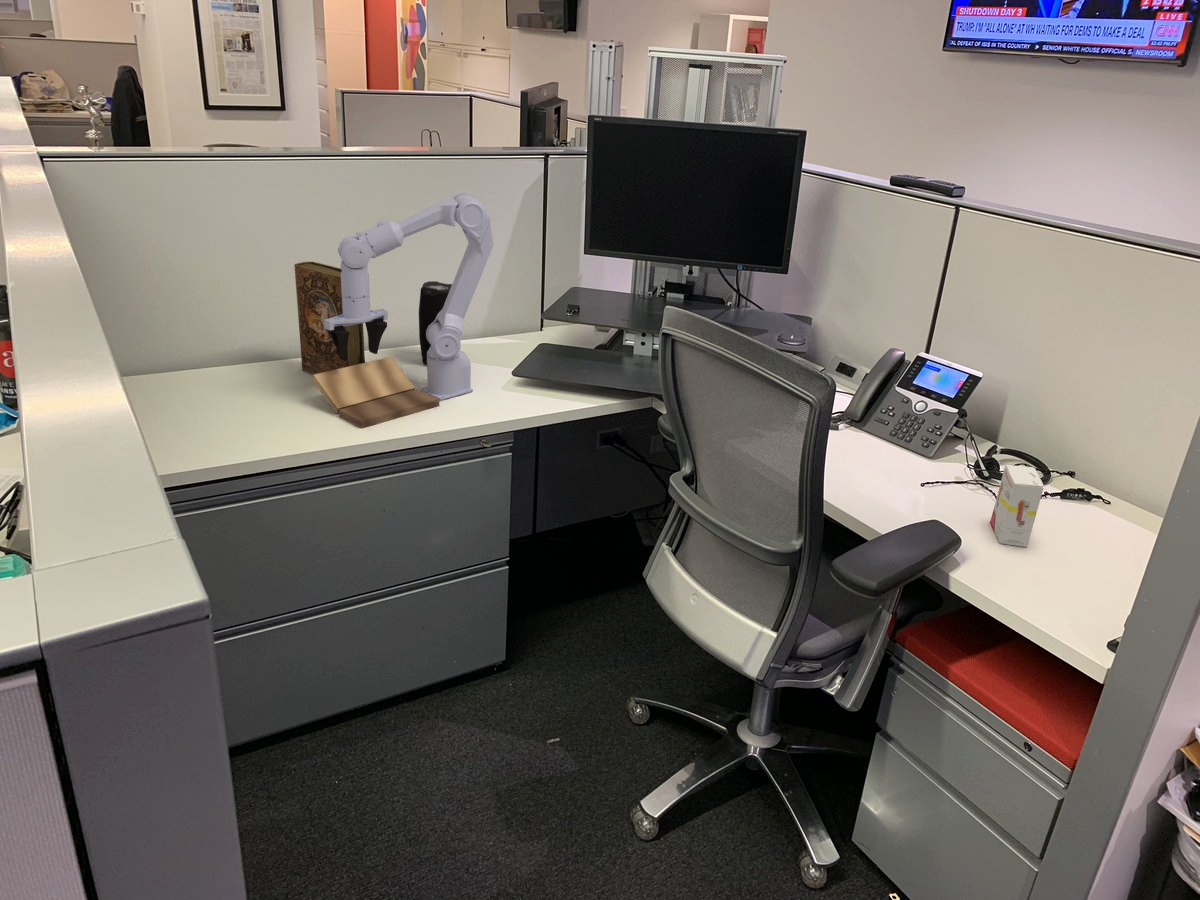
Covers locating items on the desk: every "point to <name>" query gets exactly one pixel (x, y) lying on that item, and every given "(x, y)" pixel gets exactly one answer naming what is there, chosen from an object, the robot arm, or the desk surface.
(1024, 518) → the ink box
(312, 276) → the book
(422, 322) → the portable speaker
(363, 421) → the walnut strip
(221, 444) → the desk surface
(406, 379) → the oak plank
